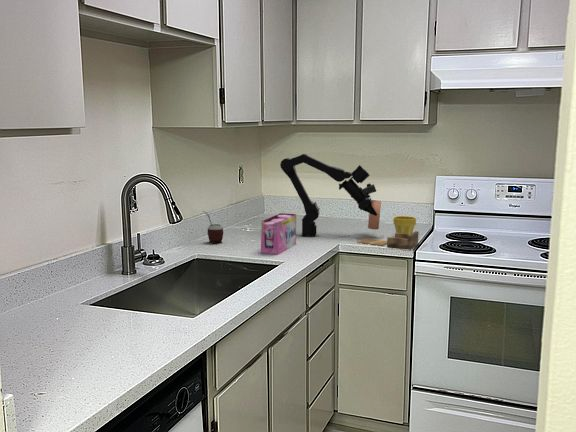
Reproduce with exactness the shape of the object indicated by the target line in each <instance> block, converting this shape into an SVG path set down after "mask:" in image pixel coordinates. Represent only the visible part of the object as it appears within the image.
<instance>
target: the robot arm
mask: <svg viewBox="0 0 576 432" xmlns="http://www.w3.org/2000/svg"><path fill="white" fill-rule="evenodd" d="M303 163H304V164H306V165H308V166H310V167H313V168H314V169H316V170H319V171H321V172H323V173H324V174H325V175H327V176H328V177H330V178H332V179H333V180H334V181H336V182H339V183H338V190H339V191H341V189H344V191H345V192H346V193H347V194H349V196H350V198H352V199H353V200H354V201H355V203H356V204H357V205H358V206H357V207H358V209H359V210H360V211H364V212H366V213H370V214H372V215H375V216H377V213H376V211H375V210H374V208H373V207H372V205H371V204H372V201H371V200H372V197H371V195H370V194H372V193H373V194H374V193H375V192H377V189H376V186H375V184H371V183H367V184H366V186H365V187H361V186H359V185H358V184H362V183H363V182H364V181H366V180H367V179H368V178H369V177H370V176H371V175H370V173H369V172H368V171H367V170H366V169H364V168H363V167H362V166H361V165H360V164H359V165H357V167H356V168H355V169H354V170H353V171H352V172H350V171H345V170H344V169H343V168H340V167H336V166H331V165H330V164H326V163H324V162H322V161H321V160H318V159H316V158H314V157H312V156H310V155H308V154H306V153H302V154H300V155H298V156H295V157H292V158H290V157H286V158H284V159H282V160H281V161H280V164H279V166H280V169H281V170H282V171H283V173H284V174H285V175H286V176H287V177H288V178H289V179H290V183H291V184H292V185H293V187H294V189H295V191H296V193H297V195H298V197H299V199H300V201H301V203H302V205H303V208H304V213H305V215H304V216H303V217H302V219H301V236H302V237H316V235H317V225H316V220H317V219H318V218H319V216H320V210H321V209H320V207H319V206H318V205H317V204H318V203H317V202H316V201H315V202H313V201H312V200H311V198H310V197H309V194H308V192H307V190H306V189H305V187H304V185H303V182H302V181H301V180H300V176H299V174H297V169H296V166H298V165H300V164H303Z"/></svg>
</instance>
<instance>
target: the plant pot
mask: <svg viewBox="0 0 576 432" xmlns="http://www.w3.org/2000/svg"><path fill="white" fill-rule="evenodd" d="M393 225H394V228H395V233H404V234H412V233H413V232H414V230H415V227H416V225H417V218H416V217H415V216H407V215H397V216H393Z"/></svg>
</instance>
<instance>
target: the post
mask: <svg viewBox="0 0 576 432" xmlns="http://www.w3.org/2000/svg"><path fill="white" fill-rule="evenodd" d="M371 201H372V204H371V205H372V207H373V208H374V210H375V211H376V213H377V216H375V215H372V214H370V213H369V214H368V223H367V229H370V230H379V229H380V228H379V226H380V219H381V218H380V217H381V210H382V209H381V207H382V201H381V200H378V199H377V200H376V199H371Z"/></svg>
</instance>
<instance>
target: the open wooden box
mask: <svg viewBox="0 0 576 432" xmlns="http://www.w3.org/2000/svg"><path fill="white" fill-rule="evenodd" d="M419 234H420V233H419V231H416V230H415V231H413V233H412V234H404V233H396V232H395V233H394V237H393V236H392V237H391V236H387V239H386V240H387V244H386V247H387V248H390V249H398V250H399V249H401V250H408V251H410V250H413V249H414V248H415V247H417V246H418V245H419Z"/></svg>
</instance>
